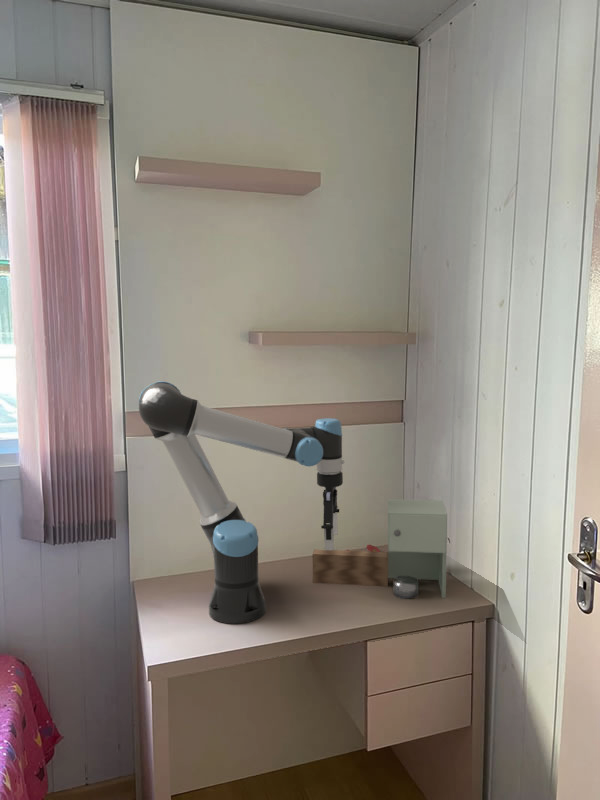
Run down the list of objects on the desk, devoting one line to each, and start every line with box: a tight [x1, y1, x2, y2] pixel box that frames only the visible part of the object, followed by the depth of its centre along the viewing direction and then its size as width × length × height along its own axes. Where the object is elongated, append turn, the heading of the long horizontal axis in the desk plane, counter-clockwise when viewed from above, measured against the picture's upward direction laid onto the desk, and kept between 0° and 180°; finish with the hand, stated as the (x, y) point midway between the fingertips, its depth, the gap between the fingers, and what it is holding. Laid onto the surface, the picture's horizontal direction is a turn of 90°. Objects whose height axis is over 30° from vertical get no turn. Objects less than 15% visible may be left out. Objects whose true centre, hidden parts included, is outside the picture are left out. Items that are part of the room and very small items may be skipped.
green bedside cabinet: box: [387, 498, 448, 599], centre depth 186 cm, size 16×16×24 cm
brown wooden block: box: [312, 548, 389, 587], centre depth 192 cm, size 22×4×9 cm, turn 82°
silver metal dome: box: [392, 576, 419, 600], centre depth 183 cm, size 7×7×4 cm
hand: (331, 541), depth 192 cm, fingers open, 13 cm apart
